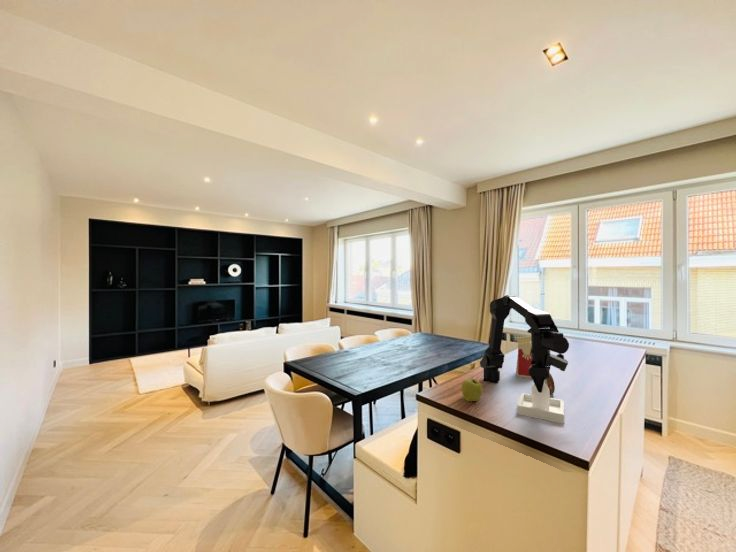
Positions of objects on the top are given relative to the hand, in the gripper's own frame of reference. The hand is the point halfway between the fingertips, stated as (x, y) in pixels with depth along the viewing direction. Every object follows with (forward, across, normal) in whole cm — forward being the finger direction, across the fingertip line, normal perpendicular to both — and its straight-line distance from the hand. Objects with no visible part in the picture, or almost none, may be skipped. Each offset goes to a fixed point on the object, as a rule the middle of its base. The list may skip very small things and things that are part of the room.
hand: (540, 389), depth 111 cm
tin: (+8, +25, 0) cm, 26 cm away
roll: (+7, 0, 0) cm, 7 cm away
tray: (+8, 0, 0) cm, 8 cm away
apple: (+8, -3, +24) cm, 25 cm away
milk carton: (+8, +43, +9) cm, 45 cm away
